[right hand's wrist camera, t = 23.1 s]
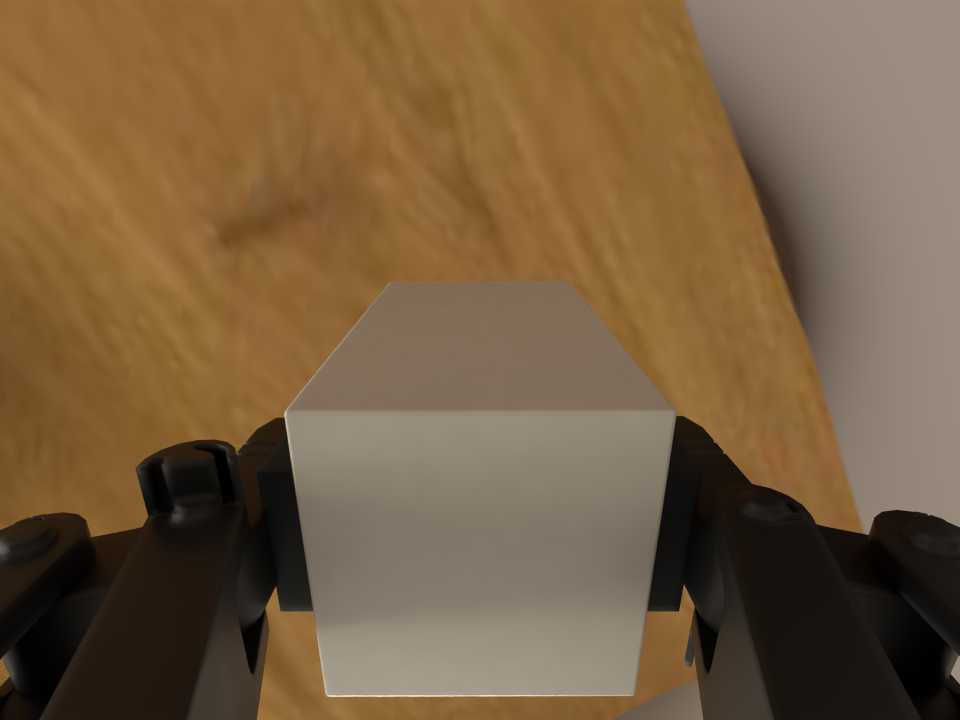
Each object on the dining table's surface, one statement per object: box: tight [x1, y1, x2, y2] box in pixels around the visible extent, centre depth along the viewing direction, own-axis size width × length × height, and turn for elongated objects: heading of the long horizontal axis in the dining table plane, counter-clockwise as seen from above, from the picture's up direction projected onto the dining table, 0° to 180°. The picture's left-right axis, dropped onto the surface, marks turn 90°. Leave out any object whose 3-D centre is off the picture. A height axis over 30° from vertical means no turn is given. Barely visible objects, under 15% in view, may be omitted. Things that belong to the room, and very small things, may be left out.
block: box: [284, 282, 676, 696], centre depth 12 cm, size 5×5×8 cm
